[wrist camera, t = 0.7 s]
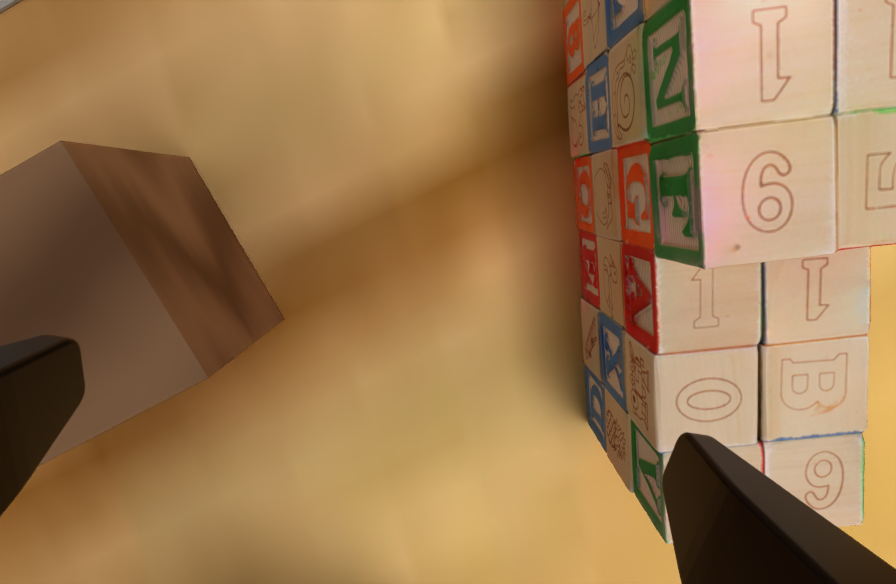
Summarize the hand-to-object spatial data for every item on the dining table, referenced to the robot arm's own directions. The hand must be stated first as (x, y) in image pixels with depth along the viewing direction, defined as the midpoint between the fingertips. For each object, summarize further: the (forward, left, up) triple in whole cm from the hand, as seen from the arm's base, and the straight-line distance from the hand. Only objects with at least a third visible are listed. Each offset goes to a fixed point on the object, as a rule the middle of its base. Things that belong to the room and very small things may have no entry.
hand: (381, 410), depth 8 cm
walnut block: (-8, +11, -17) cm, 21 cm away
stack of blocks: (+7, -7, -17) cm, 20 cm away
